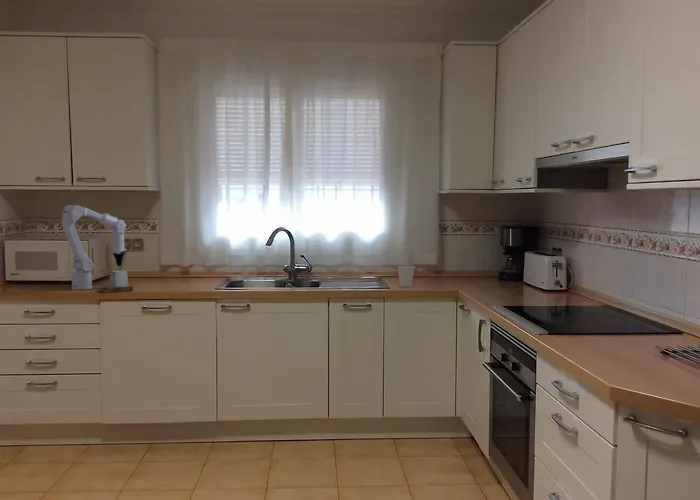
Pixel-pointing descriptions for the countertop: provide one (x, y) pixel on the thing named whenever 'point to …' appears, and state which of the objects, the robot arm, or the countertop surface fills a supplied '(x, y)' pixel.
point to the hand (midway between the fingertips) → (119, 265)
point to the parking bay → (117, 289)
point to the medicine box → (118, 278)
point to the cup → (406, 275)
